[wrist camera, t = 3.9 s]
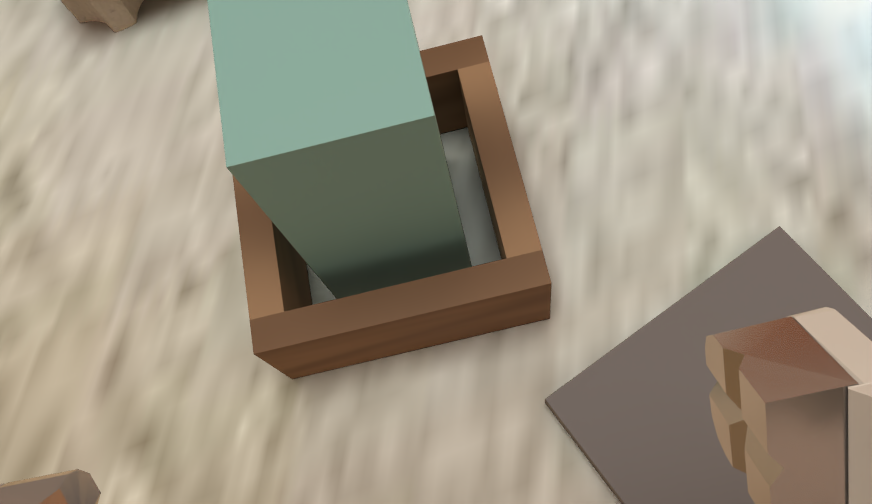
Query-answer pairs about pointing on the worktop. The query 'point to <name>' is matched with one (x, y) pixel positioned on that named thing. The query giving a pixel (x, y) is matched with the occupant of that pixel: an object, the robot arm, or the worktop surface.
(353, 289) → the teal block
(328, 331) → the pocket holder
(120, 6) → the egg carton
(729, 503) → the rubber mat
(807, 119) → the worktop surface
